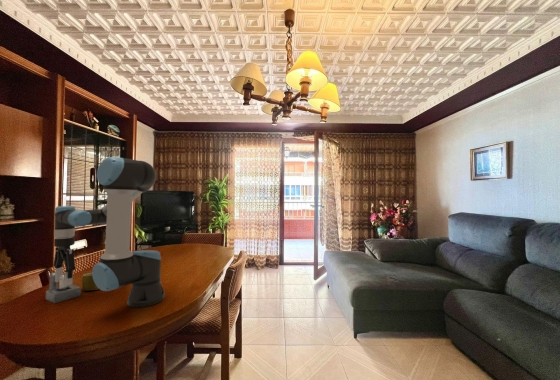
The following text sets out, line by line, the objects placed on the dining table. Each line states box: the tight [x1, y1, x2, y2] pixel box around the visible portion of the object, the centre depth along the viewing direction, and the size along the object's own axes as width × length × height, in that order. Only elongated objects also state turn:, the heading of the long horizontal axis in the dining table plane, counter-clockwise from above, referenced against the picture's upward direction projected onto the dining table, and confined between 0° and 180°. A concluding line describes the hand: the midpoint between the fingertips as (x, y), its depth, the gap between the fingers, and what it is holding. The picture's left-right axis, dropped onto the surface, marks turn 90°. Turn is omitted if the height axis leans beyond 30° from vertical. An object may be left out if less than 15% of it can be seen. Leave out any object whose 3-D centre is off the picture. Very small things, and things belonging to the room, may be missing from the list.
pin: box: [58, 273, 68, 291], centre depth 118 cm, size 3×3×11 cm
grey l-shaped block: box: [45, 271, 82, 304], centre depth 120 cm, size 18×10×10 cm, turn 60°
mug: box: [81, 272, 100, 292], centre depth 130 cm, size 12×10×10 cm
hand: (63, 283), depth 118 cm, fingers open, 10 cm apart
